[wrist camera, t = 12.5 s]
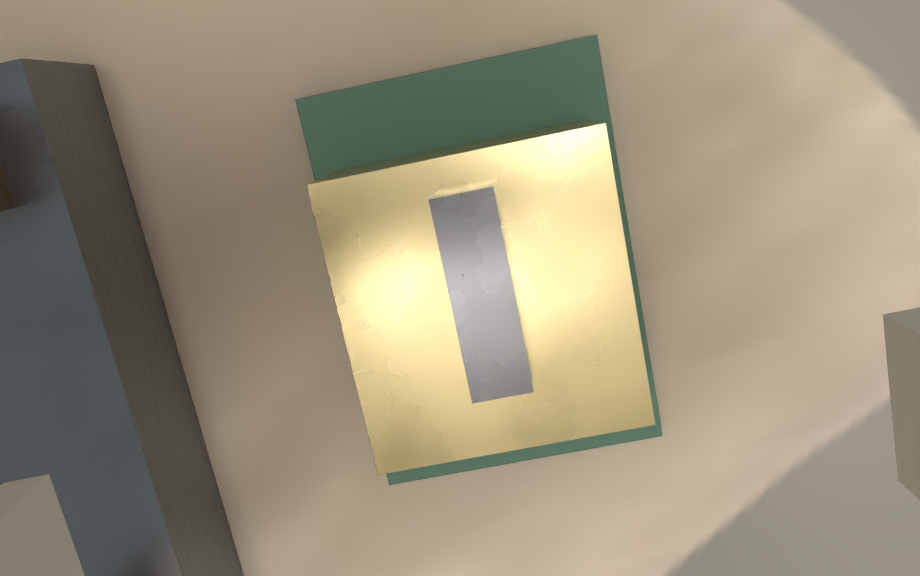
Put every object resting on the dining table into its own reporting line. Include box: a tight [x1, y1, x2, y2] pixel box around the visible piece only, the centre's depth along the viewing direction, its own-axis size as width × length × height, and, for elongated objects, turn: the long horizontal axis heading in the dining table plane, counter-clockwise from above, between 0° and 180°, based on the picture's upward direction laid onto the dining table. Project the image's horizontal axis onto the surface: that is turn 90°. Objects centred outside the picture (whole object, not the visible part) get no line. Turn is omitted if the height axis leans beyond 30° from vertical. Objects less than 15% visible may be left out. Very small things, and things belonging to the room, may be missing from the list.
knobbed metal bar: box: [0, 59, 243, 576], centre depth 25 cm, size 21×5×10 cm, turn 12°
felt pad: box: [296, 35, 662, 485], centre depth 29 cm, size 14×10×1 cm
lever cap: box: [307, 119, 655, 475], centre depth 26 cm, size 9×8×5 cm
